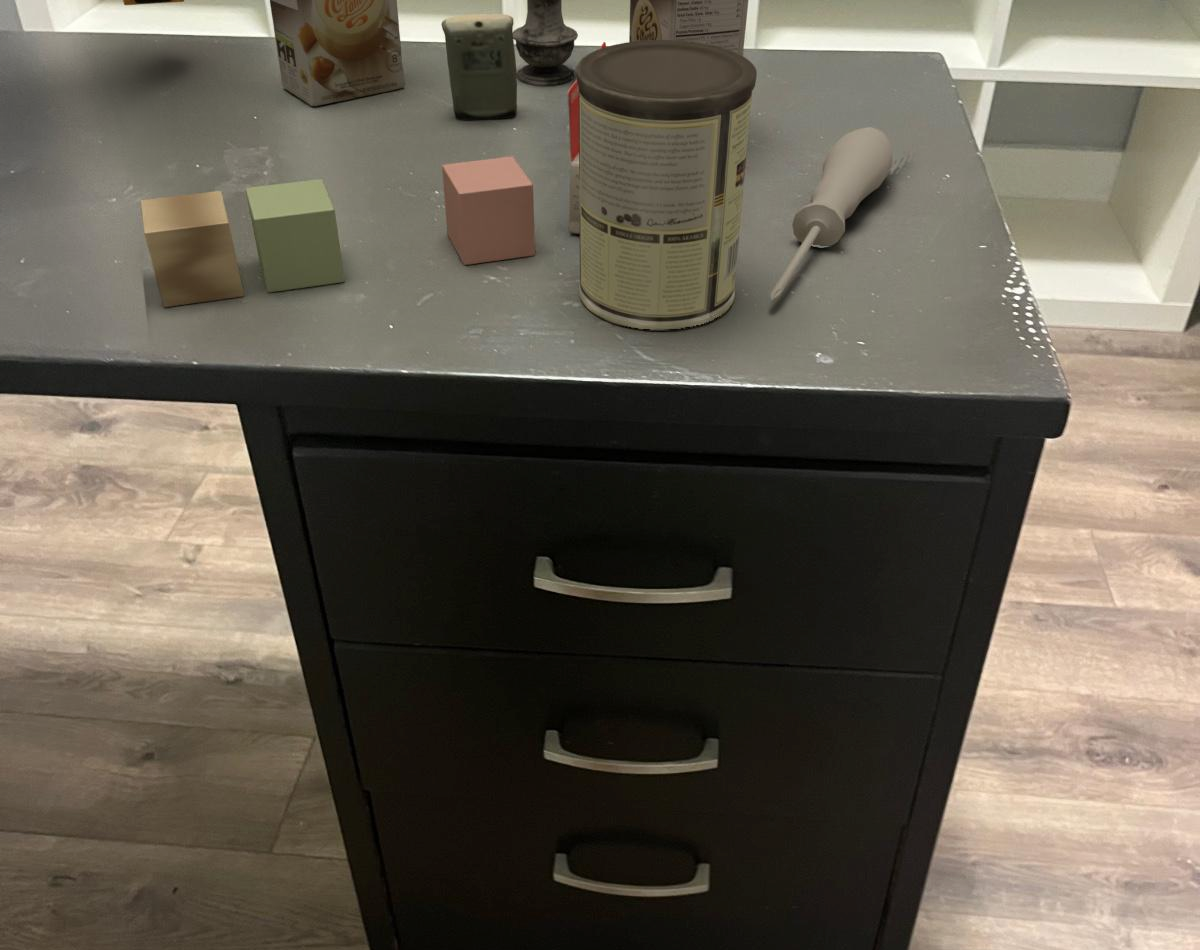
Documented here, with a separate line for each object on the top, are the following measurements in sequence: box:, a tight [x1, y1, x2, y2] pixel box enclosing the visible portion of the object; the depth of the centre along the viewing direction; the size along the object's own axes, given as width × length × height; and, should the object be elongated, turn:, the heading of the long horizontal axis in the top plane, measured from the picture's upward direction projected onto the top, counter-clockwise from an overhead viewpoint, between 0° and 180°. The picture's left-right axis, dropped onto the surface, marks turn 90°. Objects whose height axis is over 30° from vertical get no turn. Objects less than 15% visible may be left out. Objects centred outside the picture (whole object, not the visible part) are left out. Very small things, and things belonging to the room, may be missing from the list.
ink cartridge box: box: [566, 41, 607, 235], centre depth 83 cm, size 2×11×10 cm, turn 167°
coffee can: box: [575, 40, 758, 331], centre depth 72 cm, size 10×10×14 cm
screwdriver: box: [769, 126, 893, 301], centre depth 82 cm, size 5×25×4 cm, turn 156°
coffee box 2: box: [628, 0, 749, 57], centre depth 91 cm, size 9×6×16 cm
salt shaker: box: [512, 0, 579, 87], centre depth 103 cm, size 6×6×12 cm
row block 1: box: [140, 190, 245, 308], centre depth 75 cm, size 5×5×5 cm
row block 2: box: [245, 178, 346, 293], centre depth 77 cm, size 5×5×5 cm
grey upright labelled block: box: [441, 13, 518, 121], centre depth 97 cm, size 6×5×8 cm
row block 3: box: [441, 156, 536, 266], centre depth 80 cm, size 5×5×5 cm
